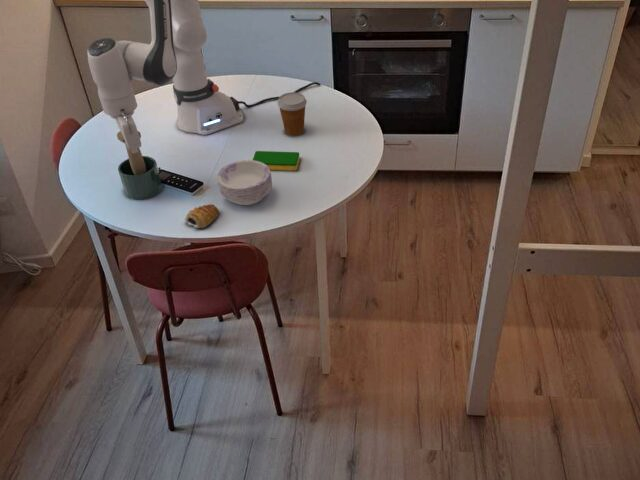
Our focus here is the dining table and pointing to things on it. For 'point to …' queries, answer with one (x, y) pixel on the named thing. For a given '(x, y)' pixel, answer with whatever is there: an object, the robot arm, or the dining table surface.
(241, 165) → the white bowl
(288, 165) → the dish sponge
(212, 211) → the pastry
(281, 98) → the disposable coffee cup
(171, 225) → the dining table surface
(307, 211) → the dining table surface
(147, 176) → the crock
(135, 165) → the handle
